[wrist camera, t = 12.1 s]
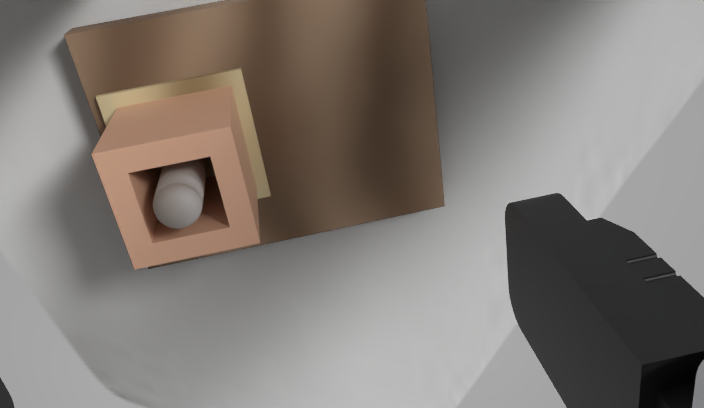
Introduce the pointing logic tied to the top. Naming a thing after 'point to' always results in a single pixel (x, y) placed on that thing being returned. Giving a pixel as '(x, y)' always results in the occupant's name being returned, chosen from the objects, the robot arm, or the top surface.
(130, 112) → the sleeve
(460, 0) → the top surface
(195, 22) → the post board
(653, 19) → the top surface
